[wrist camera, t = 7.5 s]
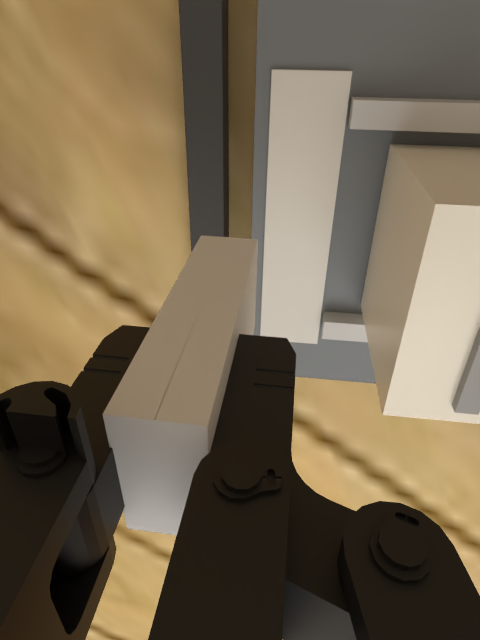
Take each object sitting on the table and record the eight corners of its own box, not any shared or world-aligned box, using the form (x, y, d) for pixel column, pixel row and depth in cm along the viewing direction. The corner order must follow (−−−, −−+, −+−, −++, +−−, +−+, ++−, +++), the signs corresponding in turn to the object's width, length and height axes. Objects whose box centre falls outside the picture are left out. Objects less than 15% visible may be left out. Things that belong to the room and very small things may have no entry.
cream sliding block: (360, 305, 18) (384, 422, 12) (390, 143, 14) (439, 208, 9) (467, 313, 17) (538, 437, 12) (522, 148, 14) (654, 219, 9)
